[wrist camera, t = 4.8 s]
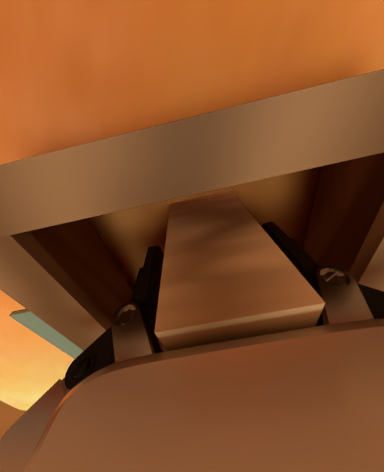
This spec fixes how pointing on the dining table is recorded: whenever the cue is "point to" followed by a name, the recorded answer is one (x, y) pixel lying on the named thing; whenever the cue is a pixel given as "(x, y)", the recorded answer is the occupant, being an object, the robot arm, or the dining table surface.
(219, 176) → the box
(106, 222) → the dining table surface
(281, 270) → the beech block
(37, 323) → the mat
